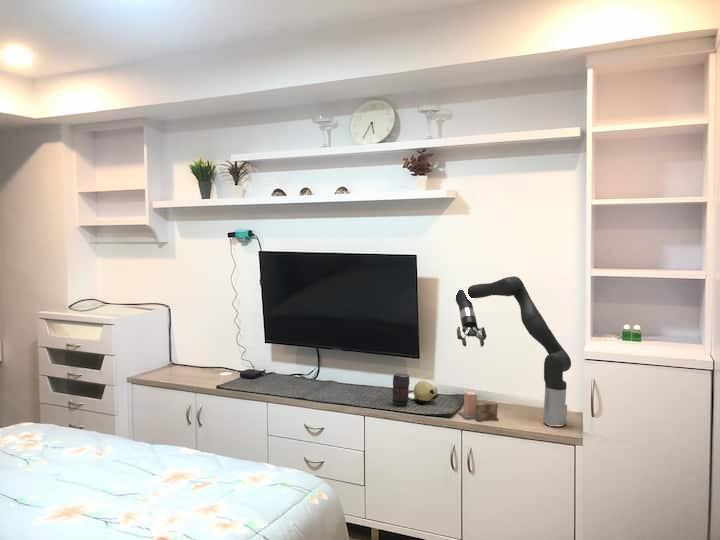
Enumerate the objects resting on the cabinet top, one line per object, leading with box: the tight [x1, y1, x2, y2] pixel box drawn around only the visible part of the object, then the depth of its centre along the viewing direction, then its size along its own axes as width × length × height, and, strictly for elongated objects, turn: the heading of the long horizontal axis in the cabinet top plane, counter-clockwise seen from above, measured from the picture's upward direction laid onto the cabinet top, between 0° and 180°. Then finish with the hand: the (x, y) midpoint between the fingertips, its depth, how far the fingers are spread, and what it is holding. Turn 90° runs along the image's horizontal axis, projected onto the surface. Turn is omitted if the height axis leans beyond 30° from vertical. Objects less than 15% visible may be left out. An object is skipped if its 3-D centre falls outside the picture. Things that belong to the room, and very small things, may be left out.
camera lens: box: [391, 372, 410, 408], centre depth 292 cm, size 8×8×15 cm
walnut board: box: [474, 402, 499, 423], centre depth 274 cm, size 10×4×8 cm, turn 106°
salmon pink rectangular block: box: [462, 391, 478, 416], centre depth 279 cm, size 4×4×10 cm
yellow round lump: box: [413, 380, 439, 402], centre depth 298 cm, size 10×12×11 cm
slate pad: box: [457, 411, 476, 420], centre depth 279 cm, size 8×8×1 cm
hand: (473, 345), depth 291 cm, fingers open, 8 cm apart
